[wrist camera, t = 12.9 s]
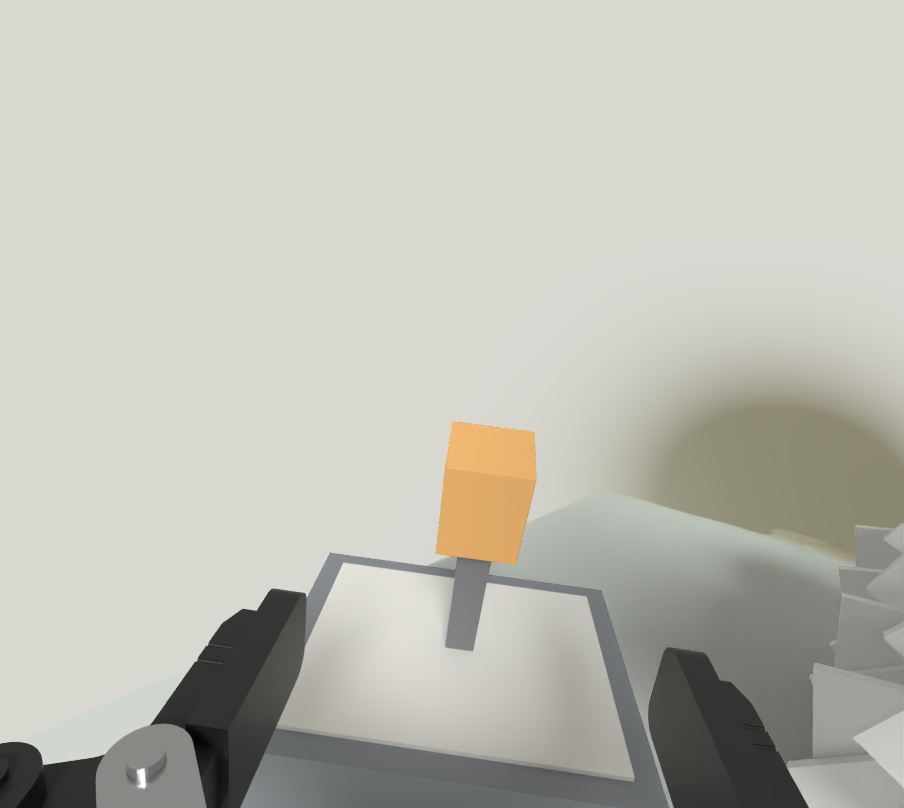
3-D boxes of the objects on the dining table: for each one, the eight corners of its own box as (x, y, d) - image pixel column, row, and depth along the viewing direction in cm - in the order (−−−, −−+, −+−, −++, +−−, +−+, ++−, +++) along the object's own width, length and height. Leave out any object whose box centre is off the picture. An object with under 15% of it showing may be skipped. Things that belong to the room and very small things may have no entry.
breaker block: (621, 967, 20) (672, 811, 18) (232, 904, 21) (230, 743, 18) (574, 705, 32) (601, 587, 29) (323, 668, 32) (330, 549, 30)
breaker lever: (491, 667, 23) (536, 480, 16) (424, 658, 23) (444, 468, 17) (493, 616, 25) (534, 431, 18) (432, 608, 25) (452, 421, 18)
